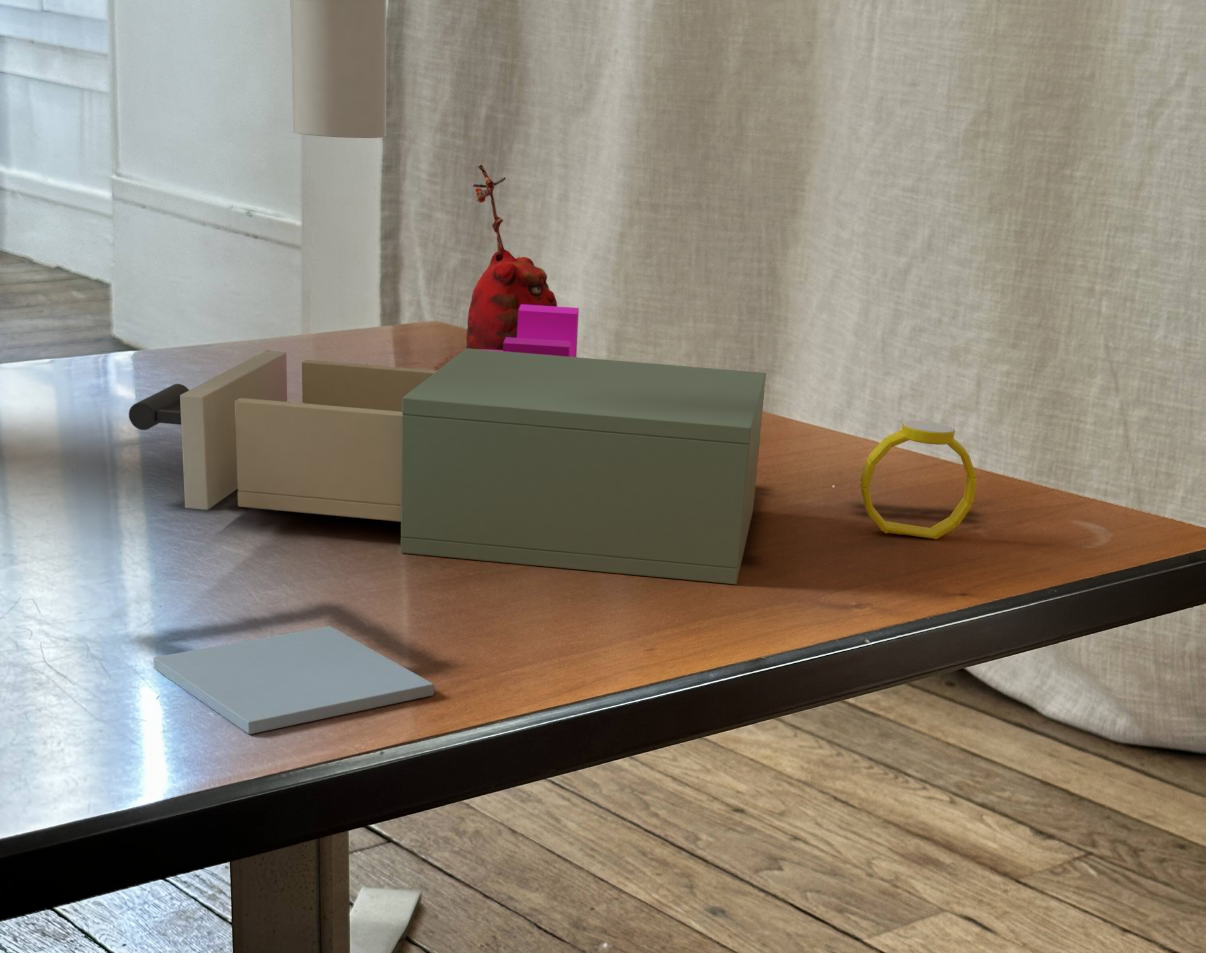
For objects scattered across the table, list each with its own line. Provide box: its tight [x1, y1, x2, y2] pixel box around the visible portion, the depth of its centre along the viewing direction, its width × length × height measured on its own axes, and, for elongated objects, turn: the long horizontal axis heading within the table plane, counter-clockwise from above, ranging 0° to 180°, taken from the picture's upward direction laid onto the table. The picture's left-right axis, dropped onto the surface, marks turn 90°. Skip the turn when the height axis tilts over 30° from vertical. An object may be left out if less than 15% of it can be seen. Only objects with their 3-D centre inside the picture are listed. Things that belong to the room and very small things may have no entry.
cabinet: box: [400, 347, 767, 585], centre depth 88 cm, size 17×15×8 cm
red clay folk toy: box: [465, 164, 558, 350], centre depth 121 cm, size 8×7×15 cm
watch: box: [859, 419, 978, 540], centre depth 91 cm, size 6×3×6 cm, turn 87°
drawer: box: [128, 350, 437, 523], centre depth 90 cm, size 20×13×6 cm
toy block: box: [481, 304, 580, 357], centre depth 105 cm, size 15×6×8 cm, turn 179°
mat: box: [153, 625, 435, 735], centre depth 67 cm, size 8×8×1 cm
